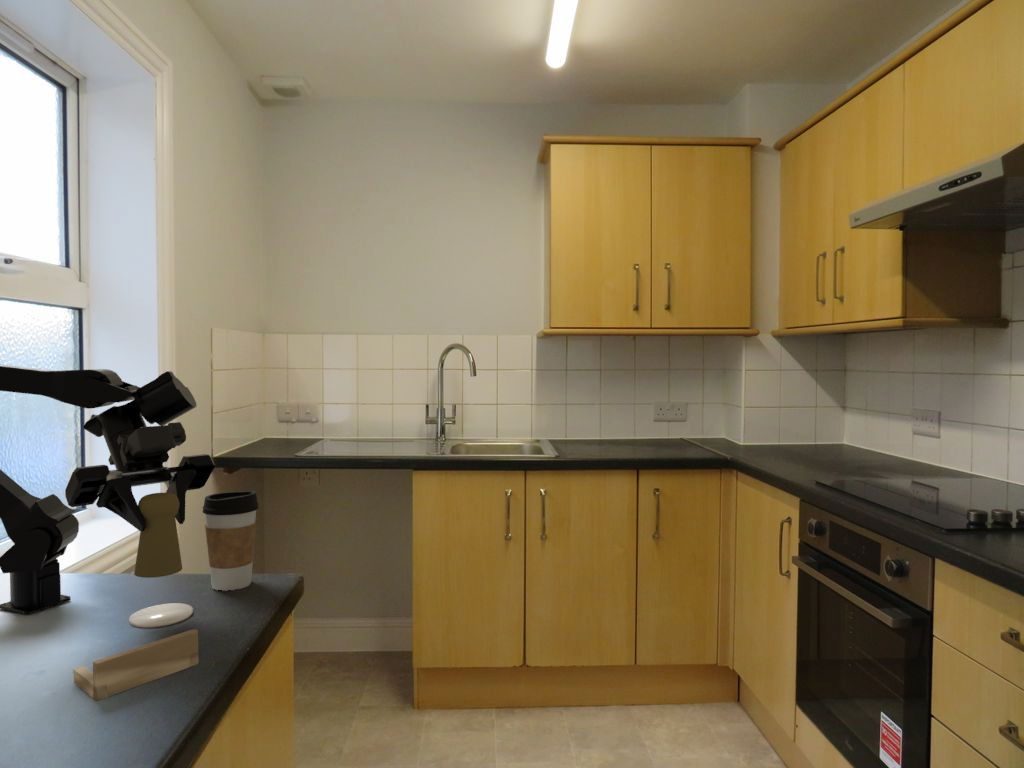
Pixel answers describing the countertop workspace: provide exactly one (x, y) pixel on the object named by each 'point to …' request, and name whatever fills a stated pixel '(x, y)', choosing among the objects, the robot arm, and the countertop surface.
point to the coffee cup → (230, 538)
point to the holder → (138, 665)
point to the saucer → (161, 615)
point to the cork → (158, 537)
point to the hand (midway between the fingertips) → (163, 525)
